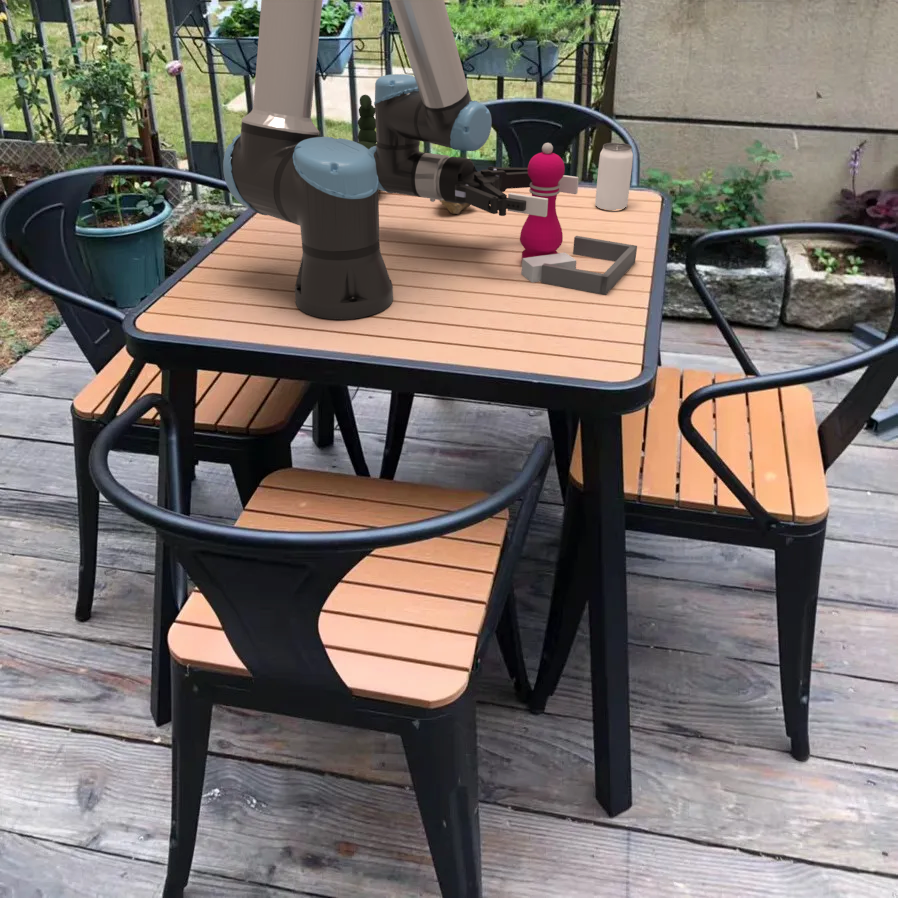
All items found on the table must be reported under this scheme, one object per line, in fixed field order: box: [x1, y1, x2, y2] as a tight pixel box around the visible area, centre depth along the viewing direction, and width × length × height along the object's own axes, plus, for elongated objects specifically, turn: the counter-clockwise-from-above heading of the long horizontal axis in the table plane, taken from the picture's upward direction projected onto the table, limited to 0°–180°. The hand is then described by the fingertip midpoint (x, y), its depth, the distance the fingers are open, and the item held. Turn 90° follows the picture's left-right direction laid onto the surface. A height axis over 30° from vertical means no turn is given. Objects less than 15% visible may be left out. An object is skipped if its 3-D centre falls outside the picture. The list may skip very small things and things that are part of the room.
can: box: [594, 142, 634, 210], centre depth 172 cm, size 6×6×12 cm
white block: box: [520, 252, 578, 283], centre depth 144 cm, size 8×4×3 cm, turn 112°
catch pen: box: [540, 235, 638, 296], centre depth 145 cm, size 16×11×3 cm
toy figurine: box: [356, 94, 377, 149], centre depth 180 cm, size 9×19×25 cm
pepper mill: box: [519, 142, 566, 259], centre depth 144 cm, size 7×7×20 cm
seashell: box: [438, 200, 471, 215], centre depth 173 cm, size 14×8×8 cm, turn 5°
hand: (562, 196), depth 141 cm, fingers open, 13 cm apart
